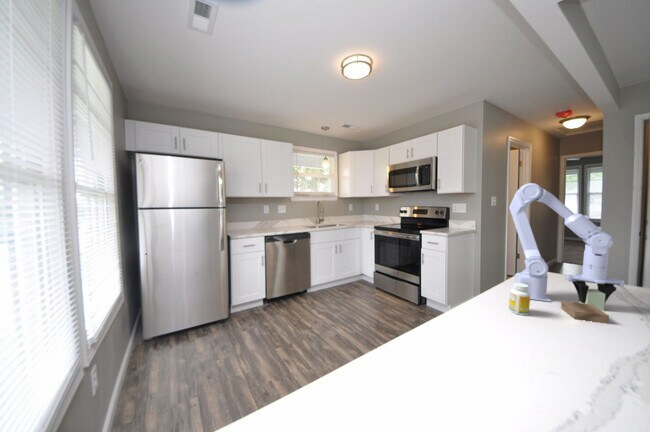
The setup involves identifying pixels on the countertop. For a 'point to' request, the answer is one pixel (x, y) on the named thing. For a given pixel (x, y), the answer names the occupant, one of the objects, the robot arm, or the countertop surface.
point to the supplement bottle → (519, 299)
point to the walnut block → (584, 312)
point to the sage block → (595, 298)
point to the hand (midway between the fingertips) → (591, 303)
